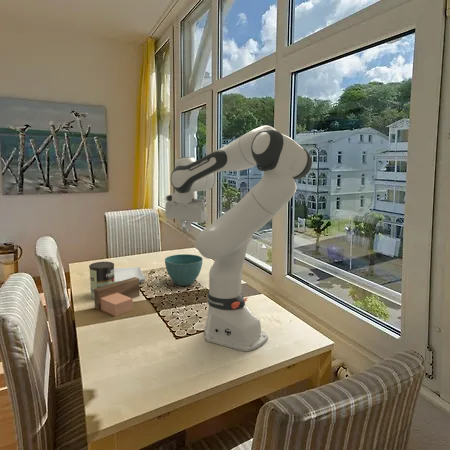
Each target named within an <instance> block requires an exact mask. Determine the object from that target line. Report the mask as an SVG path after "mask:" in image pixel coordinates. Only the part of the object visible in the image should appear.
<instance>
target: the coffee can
mask: <svg viewBox="0 0 450 450" xmlns="http://www.w3.org/2000/svg"><path fill="white" fill-rule="evenodd" d="M88 267H89V280H90V281H89V283H90V284H89V285H90V298H92V299H94V289H96V288H99V287H103V286H106V285H109V284H113V283H115V279H114V269H115V263H114V262H112V261H111V262H110V261H97V262H93V263H91V264H89V265H88Z"/></svg>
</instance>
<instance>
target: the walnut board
mask: <svg viewBox="0 0 450 450" xmlns="http://www.w3.org/2000/svg"><path fill="white" fill-rule="evenodd" d="M115 293H120V294H122V295H125V296H127V297H130V298H132V299H135V298H138V297H140V294H141V293H140V283H139V278H136V277H133V278H130V279H127V280H123V281H120V282H116V283H113V284H109V285H106V286H103V287H99V288H96V289H94V309H96V310H98V311H100V310H101V302H100V298H102V297H106V296H109V295H112V294H115Z"/></svg>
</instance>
